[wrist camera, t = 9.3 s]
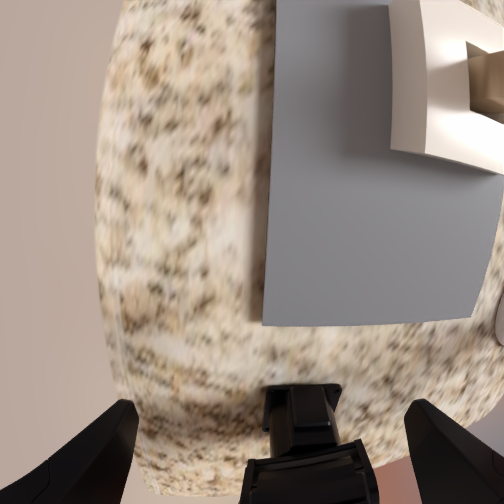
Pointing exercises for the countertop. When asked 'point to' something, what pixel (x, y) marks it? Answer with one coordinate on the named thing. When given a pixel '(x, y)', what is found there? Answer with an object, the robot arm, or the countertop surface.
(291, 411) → the robot arm
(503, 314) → the candlestick
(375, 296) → the board
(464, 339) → the countertop surface
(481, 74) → the peg
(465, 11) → the holder
